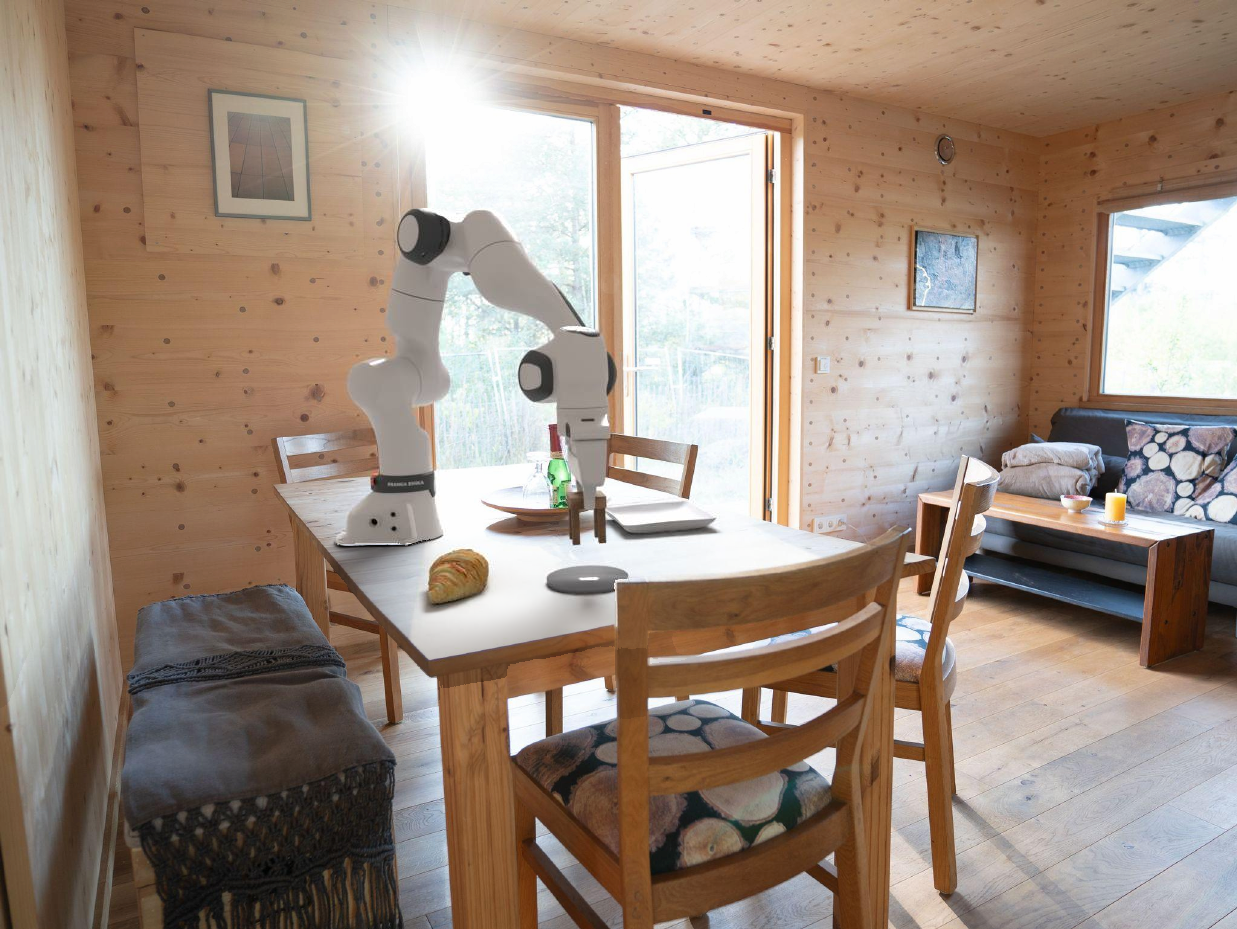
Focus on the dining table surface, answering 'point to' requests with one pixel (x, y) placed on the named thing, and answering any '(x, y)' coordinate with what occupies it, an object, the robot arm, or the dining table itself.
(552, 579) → the grey flat disc
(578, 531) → the stool
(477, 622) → the dining table surface
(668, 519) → the salad plate
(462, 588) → the croissant
